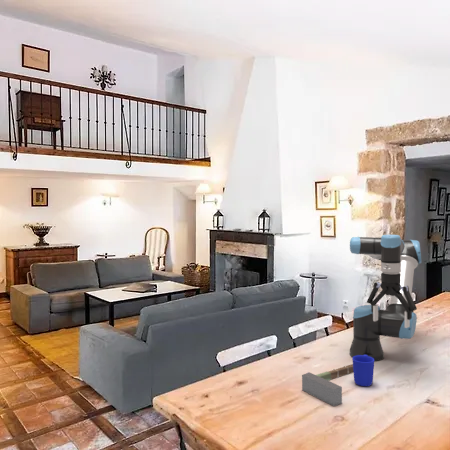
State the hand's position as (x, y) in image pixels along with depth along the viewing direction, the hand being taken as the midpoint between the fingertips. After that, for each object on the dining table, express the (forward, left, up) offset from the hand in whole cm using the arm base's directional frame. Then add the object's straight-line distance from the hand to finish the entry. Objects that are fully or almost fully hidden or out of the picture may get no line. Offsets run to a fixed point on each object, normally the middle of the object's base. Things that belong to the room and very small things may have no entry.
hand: (390, 323), depth 176 cm
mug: (-1, -15, -21) cm, 26 cm away
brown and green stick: (-11, -21, -21) cm, 32 cm away
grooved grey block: (-1, -39, -21) cm, 44 cm away
